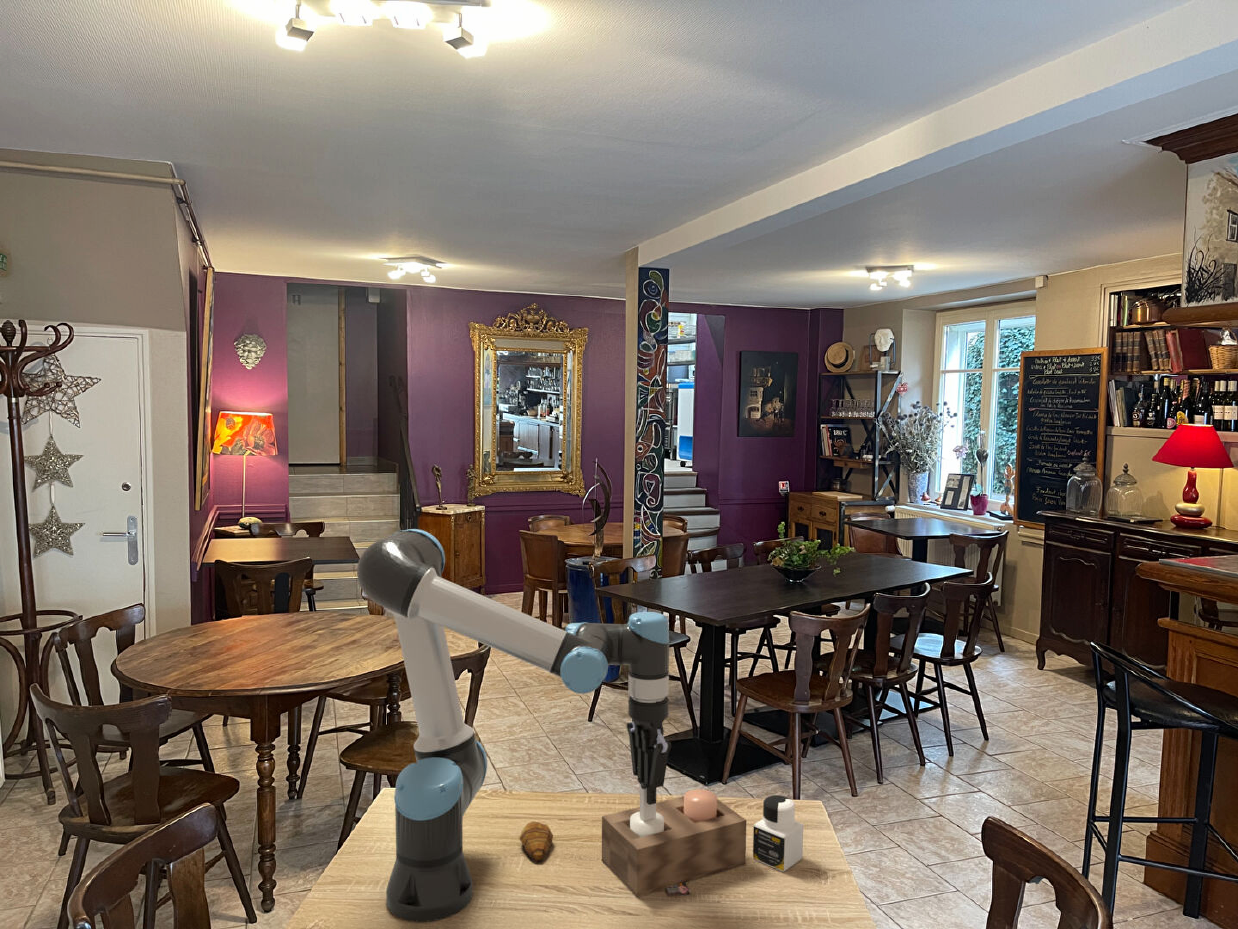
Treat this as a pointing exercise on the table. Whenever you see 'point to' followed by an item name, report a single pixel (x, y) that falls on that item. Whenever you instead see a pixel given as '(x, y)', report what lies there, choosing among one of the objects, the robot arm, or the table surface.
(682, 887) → the chocolate bar
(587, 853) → the table surface
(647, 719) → the robot arm
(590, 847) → the table surface
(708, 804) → the pink egg shaped ball
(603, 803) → the table surface
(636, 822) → the white egg in box
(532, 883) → the table surface
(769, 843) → the medicine bottle
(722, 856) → the wooden egg holder
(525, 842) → the croissant
